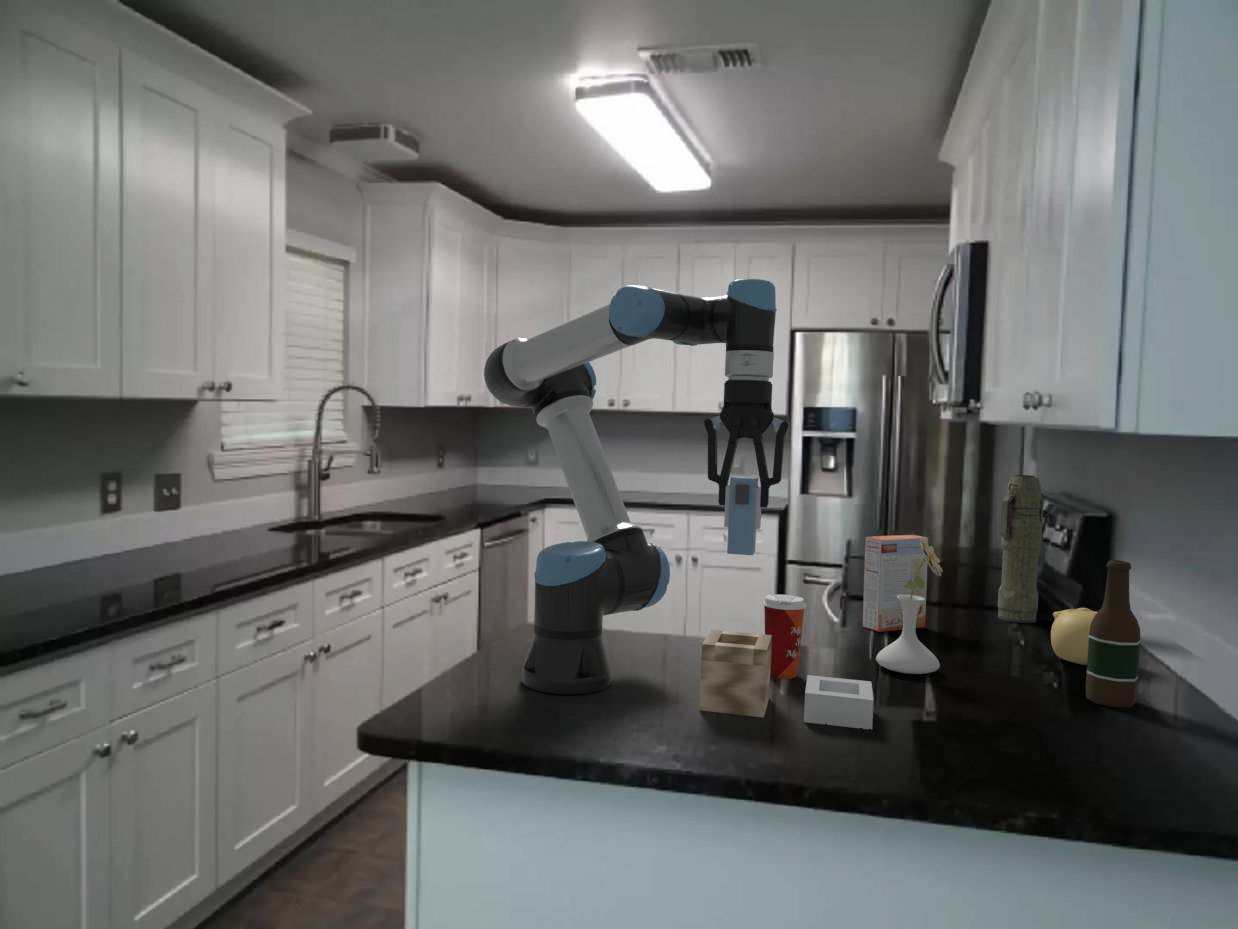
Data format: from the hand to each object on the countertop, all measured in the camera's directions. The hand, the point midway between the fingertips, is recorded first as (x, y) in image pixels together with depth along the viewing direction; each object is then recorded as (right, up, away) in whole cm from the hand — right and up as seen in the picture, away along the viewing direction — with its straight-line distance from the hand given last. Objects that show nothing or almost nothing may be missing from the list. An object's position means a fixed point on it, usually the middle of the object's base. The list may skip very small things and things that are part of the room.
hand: (742, 526), depth 140 cm
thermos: (+77, -28, +75) cm, 111 cm away
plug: (0, -4, 0) cm, 4 cm away
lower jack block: (+15, -29, -2) cm, 33 cm away
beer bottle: (+64, -31, +10) cm, 72 cm away
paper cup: (+10, -28, +19) cm, 36 cm away
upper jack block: (-1, -29, +1) cm, 29 cm away
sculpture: (+72, -30, +36) cm, 86 cm away
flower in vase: (+35, -29, +25) cm, 52 cm away
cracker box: (+43, -27, +60) cm, 79 cm away
